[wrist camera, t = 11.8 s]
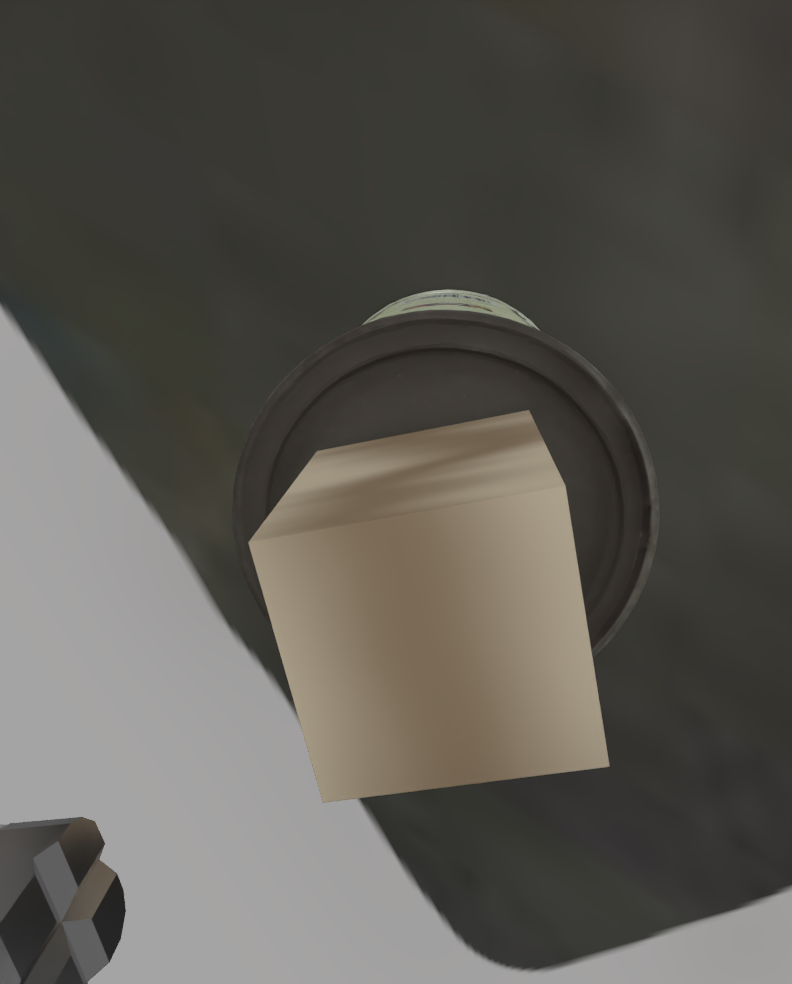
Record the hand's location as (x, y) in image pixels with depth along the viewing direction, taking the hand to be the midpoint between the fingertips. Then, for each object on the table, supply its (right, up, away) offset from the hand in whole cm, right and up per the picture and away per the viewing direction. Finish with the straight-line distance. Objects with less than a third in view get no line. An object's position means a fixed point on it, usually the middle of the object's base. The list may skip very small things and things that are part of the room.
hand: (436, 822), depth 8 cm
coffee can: (+2, +7, +23) cm, 24 cm away
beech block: (+1, +3, +9) cm, 10 cm away
